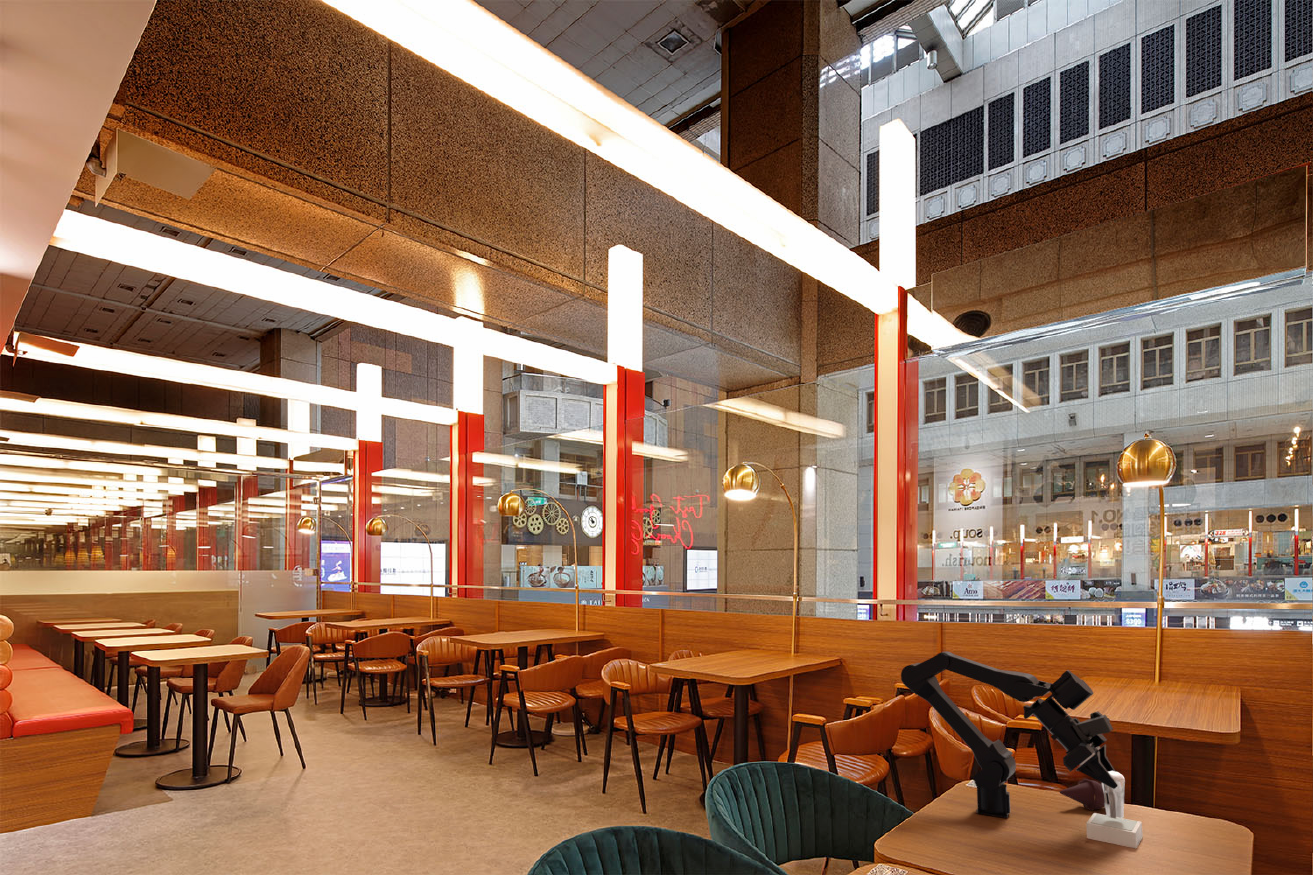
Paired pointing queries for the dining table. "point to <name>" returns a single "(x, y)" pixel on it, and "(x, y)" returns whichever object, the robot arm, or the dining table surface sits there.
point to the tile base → (1114, 830)
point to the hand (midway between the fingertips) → (1117, 784)
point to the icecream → (1086, 794)
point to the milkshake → (1114, 797)
